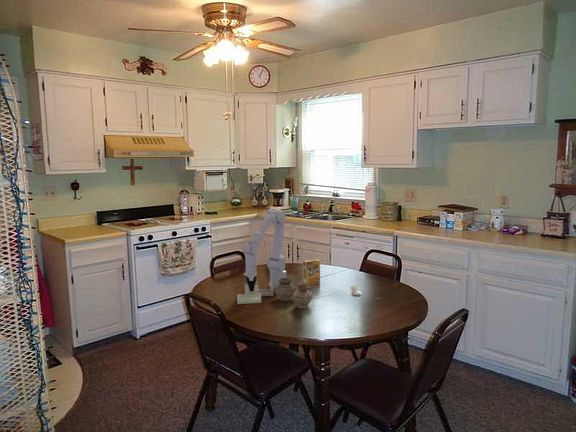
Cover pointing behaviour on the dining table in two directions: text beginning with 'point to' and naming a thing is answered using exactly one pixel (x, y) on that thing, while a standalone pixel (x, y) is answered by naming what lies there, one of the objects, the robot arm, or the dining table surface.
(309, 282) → the candy box
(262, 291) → the bay
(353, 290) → the white headphones
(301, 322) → the dining table surface
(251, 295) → the tray
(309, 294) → the pottery
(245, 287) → the block
